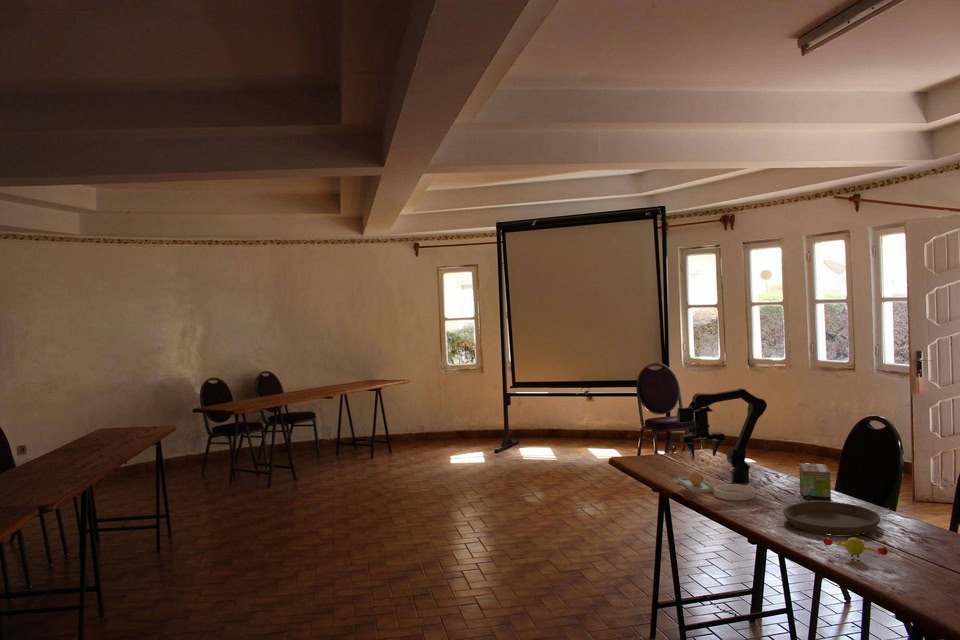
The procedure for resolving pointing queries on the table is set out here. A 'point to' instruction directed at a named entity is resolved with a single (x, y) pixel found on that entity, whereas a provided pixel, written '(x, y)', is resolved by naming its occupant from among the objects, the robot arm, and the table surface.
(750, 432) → the robot arm
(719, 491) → the bowl
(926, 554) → the table surface
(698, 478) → the ball
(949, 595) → the table surface
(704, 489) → the tray
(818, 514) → the plant saucer
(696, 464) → the table surface
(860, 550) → the toy figure
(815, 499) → the tea box
